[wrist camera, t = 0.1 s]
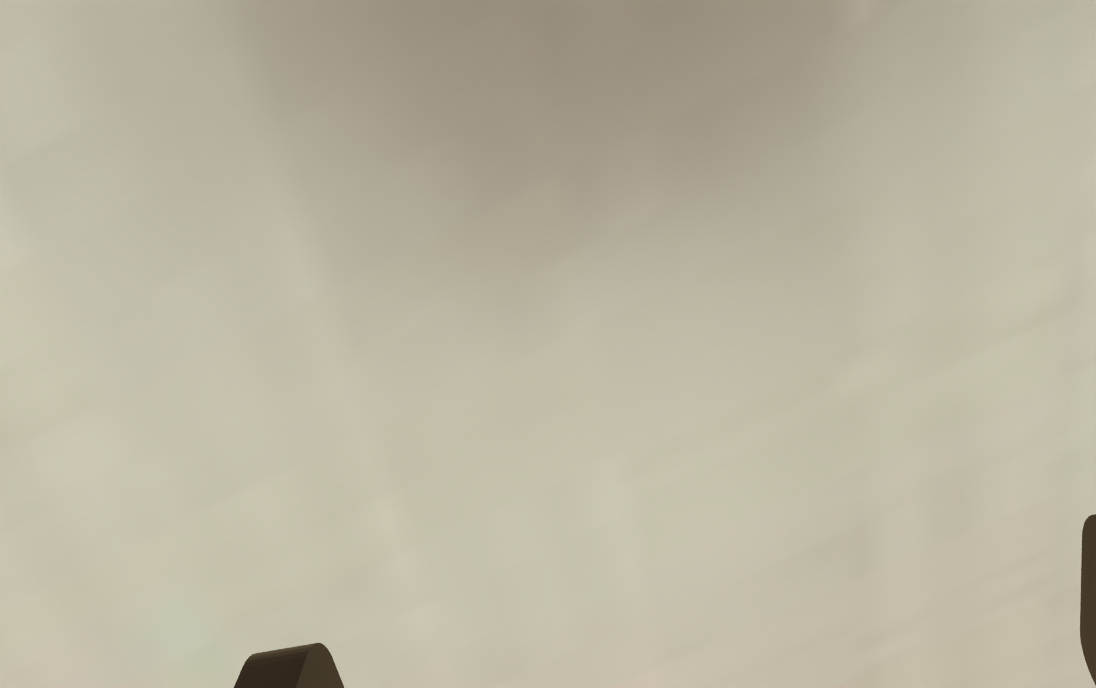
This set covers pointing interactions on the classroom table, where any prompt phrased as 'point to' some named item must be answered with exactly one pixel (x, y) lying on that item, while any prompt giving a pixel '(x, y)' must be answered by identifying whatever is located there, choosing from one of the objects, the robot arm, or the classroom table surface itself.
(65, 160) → the classroom table surface
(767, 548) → the classroom table surface
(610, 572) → the classroom table surface
